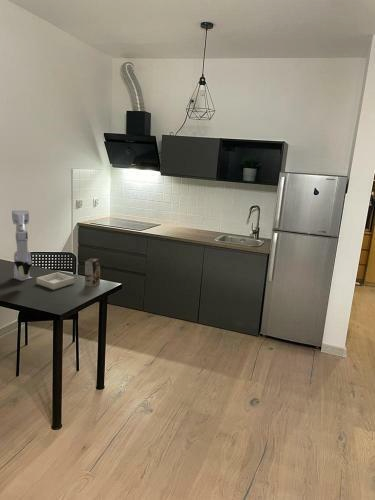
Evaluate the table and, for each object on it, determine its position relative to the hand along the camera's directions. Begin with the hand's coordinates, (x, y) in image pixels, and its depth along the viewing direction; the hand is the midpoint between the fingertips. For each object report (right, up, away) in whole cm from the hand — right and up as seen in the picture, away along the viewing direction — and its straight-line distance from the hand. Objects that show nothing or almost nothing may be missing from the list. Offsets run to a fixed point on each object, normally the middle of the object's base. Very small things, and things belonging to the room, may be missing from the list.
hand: (23, 273), depth 218 cm
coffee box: (+37, -8, +16) cm, 41 cm away
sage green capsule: (0, -2, 0) cm, 2 cm away
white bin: (+15, -7, +12) cm, 21 cm away
